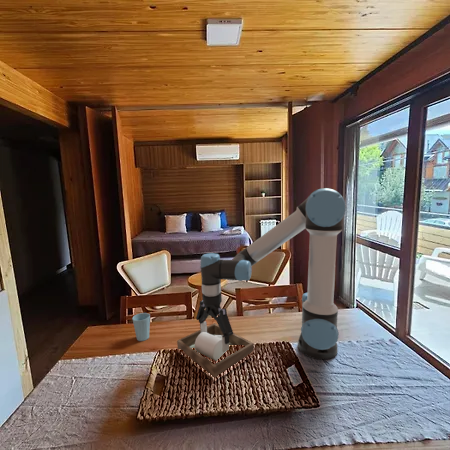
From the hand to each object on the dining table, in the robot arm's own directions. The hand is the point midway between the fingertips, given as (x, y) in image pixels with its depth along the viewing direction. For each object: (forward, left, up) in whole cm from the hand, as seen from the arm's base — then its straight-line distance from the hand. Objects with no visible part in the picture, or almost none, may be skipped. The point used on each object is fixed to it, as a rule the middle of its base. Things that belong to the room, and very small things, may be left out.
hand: (214, 343), depth 108 cm
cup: (+34, +15, -5) cm, 37 cm away
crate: (0, 0, -5) cm, 5 cm away
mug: (0, 0, -4) cm, 4 cm away
